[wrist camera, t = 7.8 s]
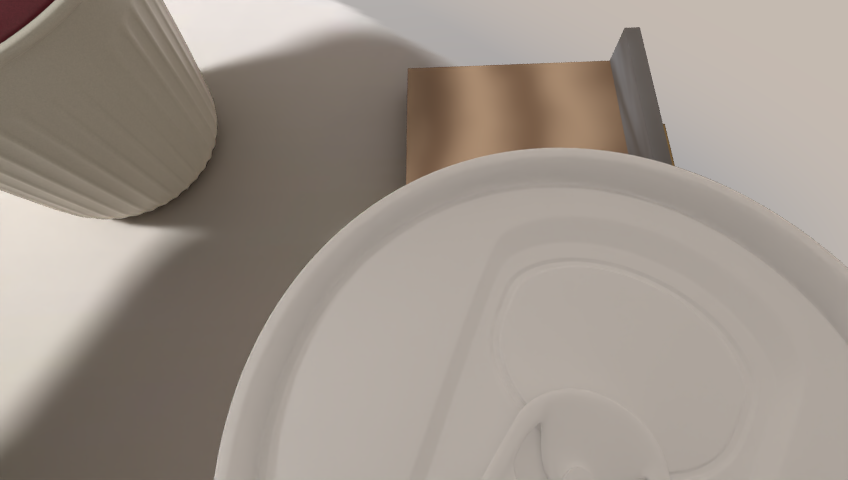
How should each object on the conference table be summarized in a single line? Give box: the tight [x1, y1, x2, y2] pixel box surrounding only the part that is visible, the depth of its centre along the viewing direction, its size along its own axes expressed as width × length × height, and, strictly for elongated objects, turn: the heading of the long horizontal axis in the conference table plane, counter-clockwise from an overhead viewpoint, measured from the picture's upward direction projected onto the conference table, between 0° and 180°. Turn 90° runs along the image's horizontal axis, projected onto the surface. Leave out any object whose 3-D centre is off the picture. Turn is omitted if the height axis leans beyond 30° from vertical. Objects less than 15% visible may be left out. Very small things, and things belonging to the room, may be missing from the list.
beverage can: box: [214, 148, 848, 480], centre depth 10 cm, size 8×8×12 cm
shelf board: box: [406, 27, 675, 185], centre depth 30 cm, size 16×17×6 cm
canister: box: [0, 0, 218, 219], centre depth 25 cm, size 18×18×21 cm
